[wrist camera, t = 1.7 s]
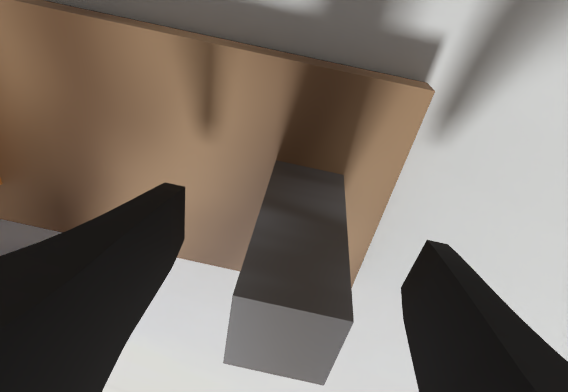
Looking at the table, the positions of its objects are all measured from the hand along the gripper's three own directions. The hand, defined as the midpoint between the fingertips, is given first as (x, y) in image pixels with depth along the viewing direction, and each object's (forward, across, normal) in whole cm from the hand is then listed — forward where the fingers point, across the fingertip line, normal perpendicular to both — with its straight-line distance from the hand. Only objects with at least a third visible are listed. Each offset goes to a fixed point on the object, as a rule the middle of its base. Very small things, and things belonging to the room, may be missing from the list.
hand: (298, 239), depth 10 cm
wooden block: (+4, +9, 0) cm, 10 cm away
